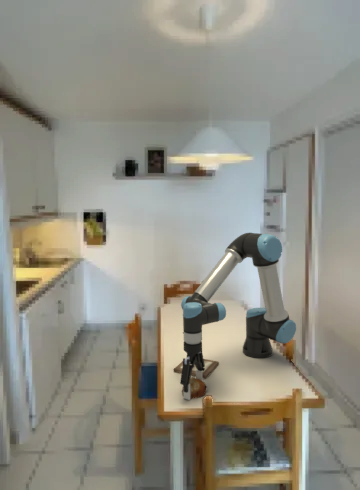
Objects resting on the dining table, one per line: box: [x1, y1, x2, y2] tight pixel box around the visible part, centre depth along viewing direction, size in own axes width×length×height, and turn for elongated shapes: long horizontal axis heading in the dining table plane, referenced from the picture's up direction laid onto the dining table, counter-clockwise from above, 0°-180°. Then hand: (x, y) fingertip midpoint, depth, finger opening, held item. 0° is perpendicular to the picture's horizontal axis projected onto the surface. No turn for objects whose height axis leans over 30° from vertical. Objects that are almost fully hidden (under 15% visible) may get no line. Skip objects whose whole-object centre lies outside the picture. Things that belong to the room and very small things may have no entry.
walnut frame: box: [173, 358, 220, 380], centre depth 177 cm, size 16×16×2 cm
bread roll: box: [181, 376, 208, 399], centre depth 155 cm, size 10×10×8 cm
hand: (193, 391), depth 155 cm, fingers open, 11 cm apart
